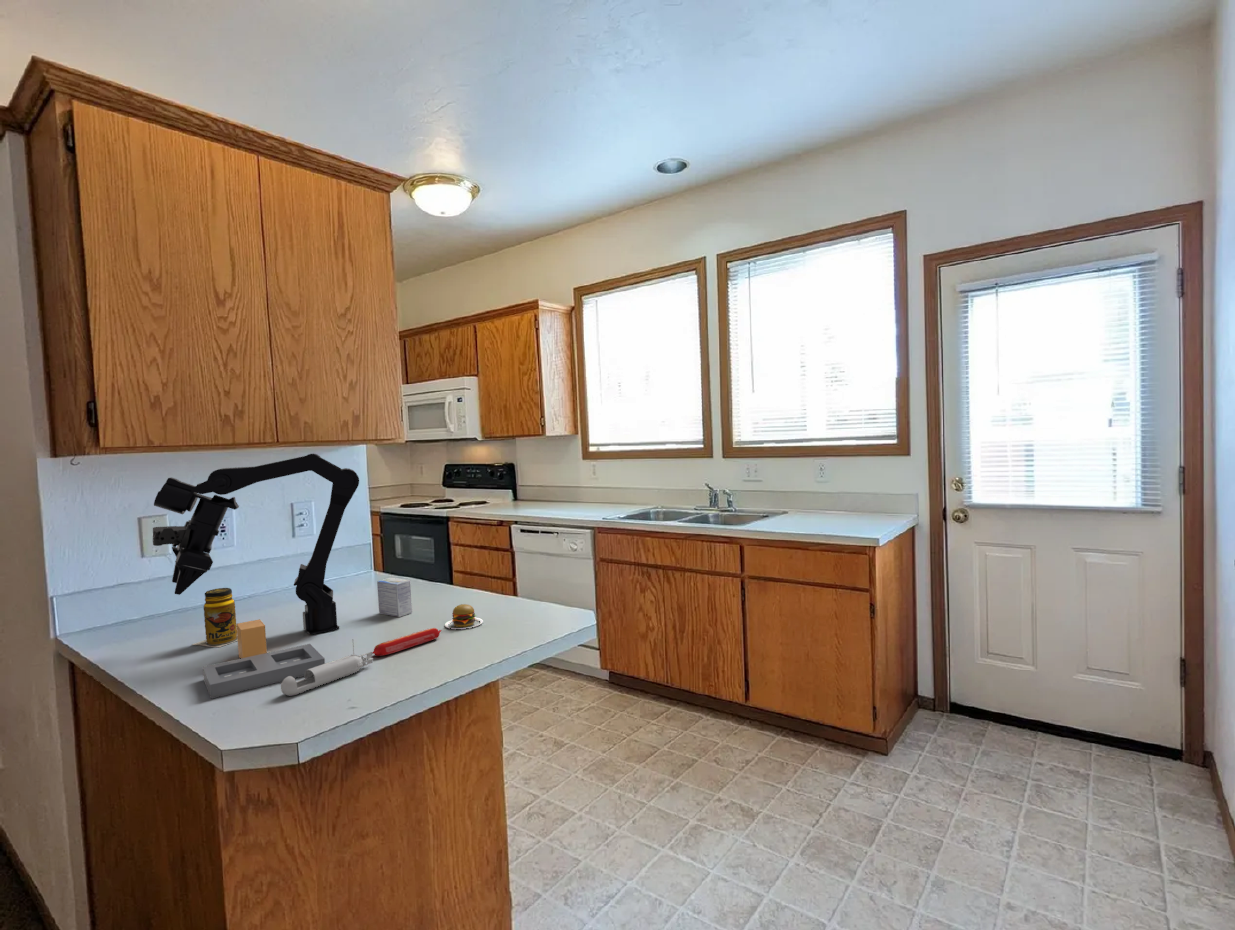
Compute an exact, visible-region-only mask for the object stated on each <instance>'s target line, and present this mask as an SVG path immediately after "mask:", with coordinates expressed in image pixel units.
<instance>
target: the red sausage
mask: <svg viewBox="0 0 1235 930" xmlns="http://www.w3.org/2000/svg"><path fill="white" fill-rule="evenodd" d="M441 632H442V629H440V630H439V629H438V628H436V627H433V628H426V629H423V630H419V631H416V632H412V633H409V634H406V635H403V636H399V637H396V638H393V639H389V640H387V641H384V642H380V643H378V644H376V645H375V646H374V648H373V650H372V651H371V652H372V655H374V656H375V657H381V656H382V657H383V656H388V655H391V654H394V653H397V652H401V651H403V650H406V649H409V648H412V647H416V646H419V645H422V644H425V643H428V642H430V641H434V640H435V639H437V638H439V637H440V634H441Z"/></svg>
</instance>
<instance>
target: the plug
mask: <svg viewBox="0 0 1235 930" xmlns="http://www.w3.org/2000/svg"><path fill="white" fill-rule="evenodd" d="M236 626H237V638H238V641H237V649H238V657H239V659H240V658H246V657H250V656H255V655H260V654H264V653H268V650H267V649H268V647H267V636H266V635H267V633H266V632H267V631H266V625H265V624H264V622H263V621H262V620H261V619H255V620H249V621H245V622H239V623H237V622H236Z"/></svg>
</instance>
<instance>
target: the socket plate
mask: <svg viewBox="0 0 1235 930" xmlns="http://www.w3.org/2000/svg"><path fill="white" fill-rule="evenodd" d="M325 663H326V659H325V657H324V656H323V655H322V654H321V653H320V652H319V651H318V650H317V649H316V648H315V647H314V646H313V645H312V644H311V643H307V644H303V645H302V644H301V645H298V646H293V647H287V648H284V649H279V650H274V651H271V652H267V653H264V654H260V655H255V656H250V657H246V658H241V659H240V658H238V659H231V660H229V661H224V662H219V663H214V664H209V665H205V666H202V674H203V682H204V683H205V687H206V689H207V691H208V694H209V697H210V699H215V698H220V697H223V696H228V695H232V694H236V693H240V691H241V692H244V691H243V690H245V691H248V690H247V689H249V690H252V689H256V688H262V687H265V686H268V685H272V684H277V683H280V682H281V683H282V681H283V680H284V679H285V678H286V677H288V676H292V677H293V678H295V679H297V678H296V677H298V678H301V677H305V671H306V670H308V669H311V668H314V667H317V666H319V665H322V664H325ZM264 685H265V686H264ZM219 696H220V697H219Z"/></svg>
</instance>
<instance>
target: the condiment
mask: <svg viewBox="0 0 1235 930" xmlns="http://www.w3.org/2000/svg"><path fill="white" fill-rule="evenodd" d="M204 601H205V602H204V605H203V617H204V629H205V640H200V641H198V642H195V643H192V644H191V646H203V647H210V648H221V647H224V646H226V645H230V644H232V643H235V642H238V638H237V614H236V603H235V600H234V598H233V591H232V588H230V587H220V588H214V589H210V590H209V589H208V590H207V591H206V592H204Z"/></svg>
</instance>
